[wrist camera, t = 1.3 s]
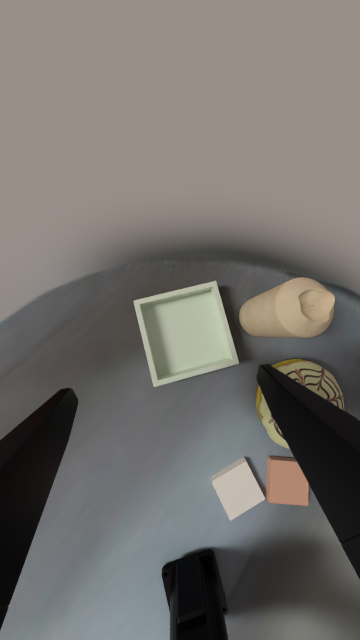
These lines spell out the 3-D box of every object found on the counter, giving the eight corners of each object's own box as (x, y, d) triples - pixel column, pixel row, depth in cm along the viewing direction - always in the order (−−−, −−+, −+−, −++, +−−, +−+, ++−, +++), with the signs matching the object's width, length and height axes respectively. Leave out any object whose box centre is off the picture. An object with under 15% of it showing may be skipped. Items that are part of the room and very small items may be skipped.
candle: (266, 292, 24) (332, 262, 14) (283, 328, 24) (362, 322, 14) (232, 306, 24) (274, 285, 14) (248, 343, 23) (303, 348, 13)
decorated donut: (263, 449, 22) (281, 472, 19) (240, 369, 23) (253, 376, 19) (334, 426, 23) (366, 444, 19) (309, 349, 24) (335, 352, 20)
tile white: (260, 490, 22) (265, 499, 21) (227, 510, 22) (230, 520, 21) (242, 454, 22) (246, 460, 21) (209, 473, 22) (211, 481, 21)
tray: (232, 360, 23) (239, 363, 21) (155, 381, 22) (153, 387, 20) (211, 286, 24) (215, 280, 21) (137, 304, 23) (133, 300, 21)
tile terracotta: (300, 496, 22) (307, 505, 21) (263, 493, 22) (268, 502, 21) (302, 456, 23) (309, 462, 22) (265, 453, 23) (271, 459, 21)
